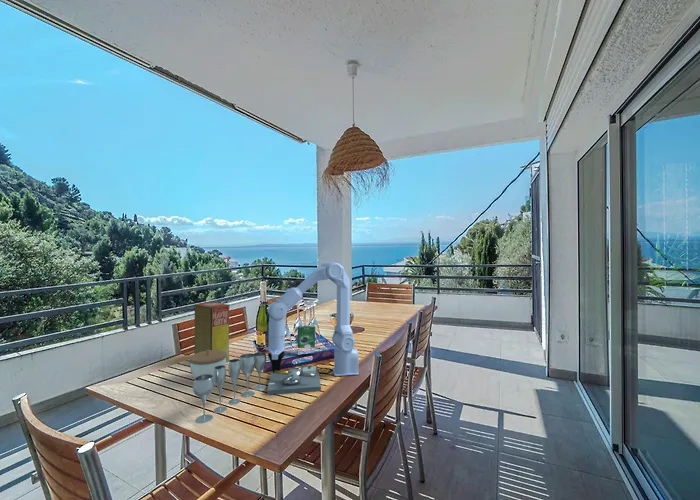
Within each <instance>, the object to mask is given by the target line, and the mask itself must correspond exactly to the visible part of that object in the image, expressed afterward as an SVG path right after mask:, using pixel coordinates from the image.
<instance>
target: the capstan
mask: <svg viewBox="0 0 700 500" xmlns="http://www.w3.org/2000/svg"><path fill="white" fill-rule="evenodd" d="M304 367H305V364H301V365H300V366H299V367H298V368H290V369H289V370H281V369H280V370H275V373H276V374H285V375H288V376H285V377H284V378H283V383H284V384H289V385H292V384H298V383H300V382H301V376H304V377H313V378H314V377H315V374H311V373H301V370H303V368H304Z"/></svg>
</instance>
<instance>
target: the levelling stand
mask: <svg viewBox="0 0 700 500" xmlns="http://www.w3.org/2000/svg"><path fill="white" fill-rule="evenodd" d="M301 373H311V374H315V377H314V378H313V377H304V376H301V382H300V383H298V384H292V385H289V384H284V383H283V378H284V377H285V376H288V375H285V374H276V373H273V371H271V372H270V375H269V381H268V385H267V389H266V396H270V395H271V396H273V395H284V394H285V395H286V394H287V395H288V394H295V393H296V394H298V393H311V392H321V391H322V384H321V379H320V373H319V369H318V368H317V367H316V365H313V366H304V368H303V369H302V370H301Z"/></svg>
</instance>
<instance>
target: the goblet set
mask: <svg viewBox="0 0 700 500" xmlns="http://www.w3.org/2000/svg"><path fill="white" fill-rule="evenodd" d="M266 363H267V353H266V352H264V351H259V352H253V353H252V352H251V353H244V354H241V355H240V356H239V358H233V359H229V362H228V368H227V369H228V375H229V377H230V379H231V381H232V385H233V398H232V399H230V400H229V401H228V402H227V403H228V404H229V405H230V406H231V405H233V406H235V405H238V404H240V403H241V402H242V399H241V398H246V399H248V398H252V397H253V396H255V395H256V392H255V391H262V390H265V389H266V388H267V386H266V385H265V384H261V375H262V372H263V369H264V368H265V366H266ZM227 369H226V366H223V365H221V366H217V367H215V369H214V378H213V376H212V375H210V374H204V375H200V376H197V377H196V378H194V381H193V384H192V392H193V393H194V395H196V397H198V398H199V399H200V400H201V402H202V407H203V409H202V410H203V415H200V416H197V417H196V418H195V420H194V421H195V422H194V423H196V424H205V423H208V422H210V421H212V420H213V419H214V416H213V415H212V414H206V413H205V412H206V411H205V410H206V402H207V401H206V400H207V398H208V397H209V396H210V395H211V394H212V392H214V390H215V387H217V389H218V395H219V396H218V397H219V406H218V407H216V408H214V409H213V413H214V414H220V413H221V414H222V413H225V412H226V411H227V410H228V407H226V406H222V390H223V387H224V384H225V381H226V378H227ZM254 370H256V372H257V375H258V384H256V385H255V386H253V388H252V389H253V390H255V391H253V390H249V379H250V376H251V375H252V373H253V371H254ZM240 373H242V374H243V375H244V377H245V378H246V391H244V392H242V393H240V397H241V398H236V385H237V381H238V379H239V376H240V375H241V374H240ZM214 380H215V381H214ZM215 385H216V386H215Z"/></svg>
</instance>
